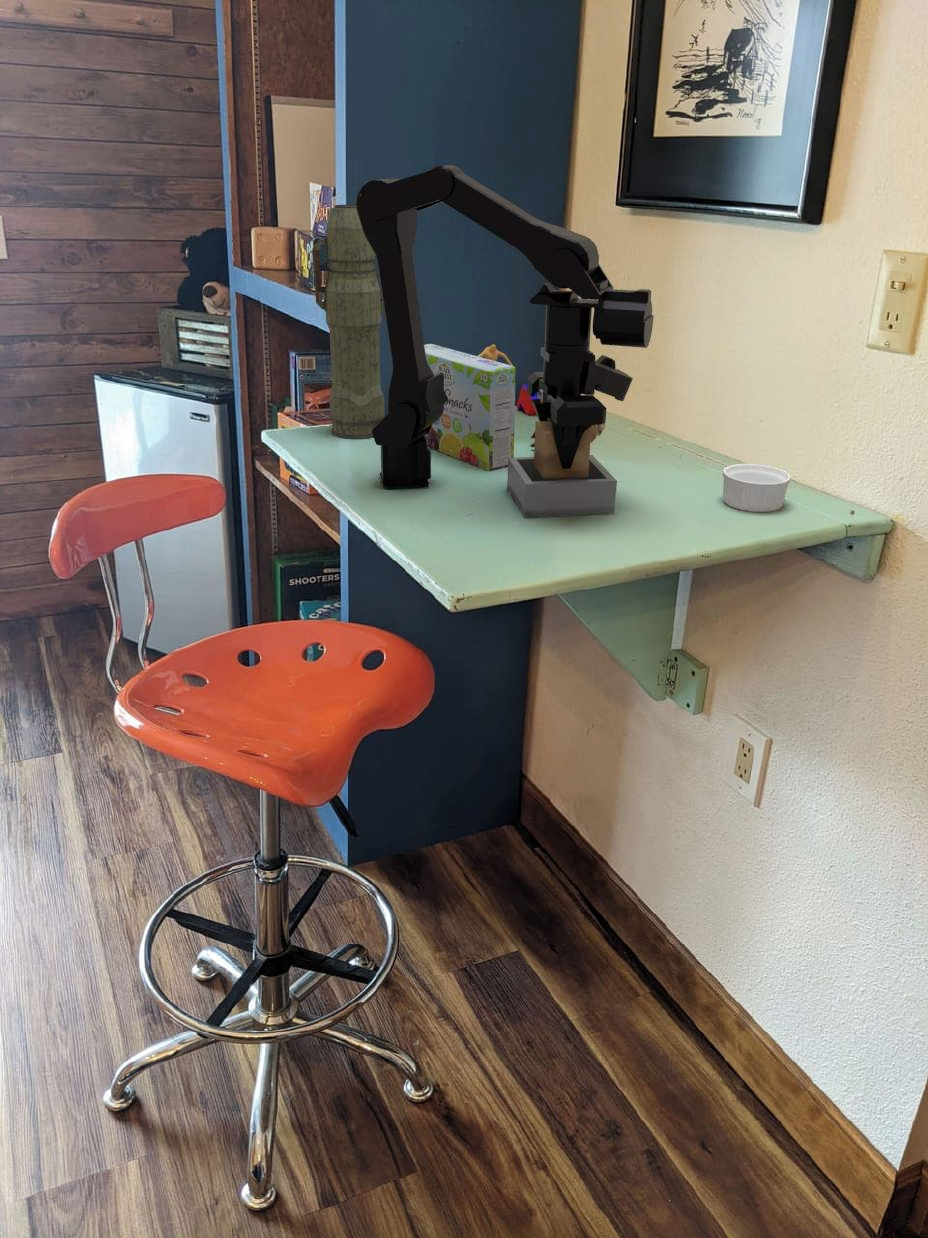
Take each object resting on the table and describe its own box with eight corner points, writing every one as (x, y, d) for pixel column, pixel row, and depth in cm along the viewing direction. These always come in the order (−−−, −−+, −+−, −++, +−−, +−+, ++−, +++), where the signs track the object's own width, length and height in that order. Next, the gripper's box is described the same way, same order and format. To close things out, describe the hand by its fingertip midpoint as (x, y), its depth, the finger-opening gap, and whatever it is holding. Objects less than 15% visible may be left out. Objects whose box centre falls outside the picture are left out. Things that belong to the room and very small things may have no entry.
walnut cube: (543, 478, 131) (545, 433, 129) (533, 465, 137) (535, 421, 134) (588, 476, 132) (591, 431, 130) (576, 463, 138) (579, 420, 135)
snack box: (405, 440, 163) (404, 346, 157) (433, 435, 166) (433, 342, 160) (487, 472, 148) (489, 369, 142) (516, 465, 151) (519, 364, 145)
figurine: (483, 419, 176) (484, 349, 171) (465, 412, 180) (466, 344, 175) (523, 414, 180) (525, 345, 174) (504, 407, 184) (506, 340, 179)
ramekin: (786, 497, 139) (791, 466, 137) (786, 517, 132) (791, 485, 130) (721, 490, 141) (725, 460, 140) (716, 510, 134) (720, 479, 132)
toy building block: (524, 422, 181) (535, 387, 174) (516, 407, 183) (526, 371, 177) (542, 420, 182) (553, 385, 176) (533, 405, 184) (544, 370, 178)
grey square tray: (524, 517, 130) (526, 484, 128) (507, 488, 141) (508, 457, 139) (614, 513, 132) (616, 480, 130) (590, 485, 143) (592, 454, 141)
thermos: (318, 427, 170) (306, 203, 155) (387, 423, 173) (381, 203, 158) (326, 441, 162) (314, 207, 147) (397, 436, 165) (393, 206, 150)
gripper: (651, 354, 120) (640, 480, 127) (608, 328, 137) (600, 440, 143) (561, 356, 119) (554, 483, 125) (527, 329, 135) (523, 443, 142)
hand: (560, 461), depth 134 cm, fingers closed on walnut cube, 6 cm apart
